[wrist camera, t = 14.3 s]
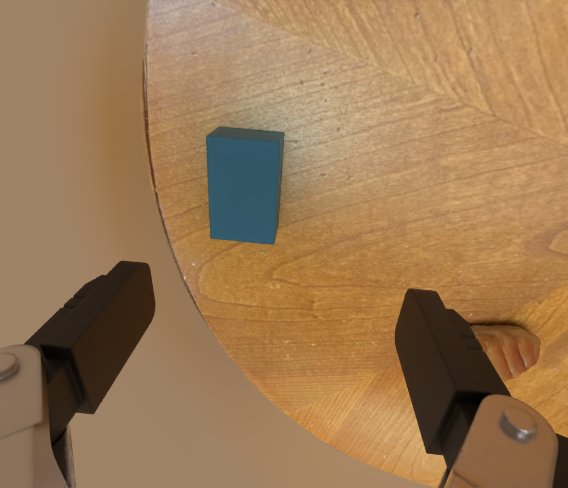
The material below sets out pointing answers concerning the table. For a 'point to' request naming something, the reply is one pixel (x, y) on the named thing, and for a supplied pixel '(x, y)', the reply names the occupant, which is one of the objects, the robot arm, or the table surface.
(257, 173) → the blue rectangular block
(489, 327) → the pastry
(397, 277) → the table surface
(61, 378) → the robot arm
